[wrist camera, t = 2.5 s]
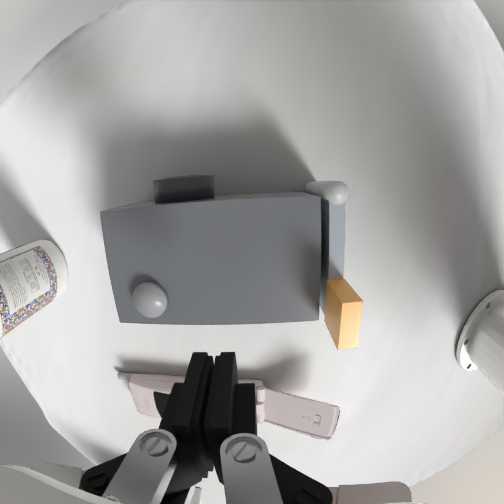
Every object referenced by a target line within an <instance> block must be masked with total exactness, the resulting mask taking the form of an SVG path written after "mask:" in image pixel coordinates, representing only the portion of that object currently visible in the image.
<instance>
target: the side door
mask: <svg viewBox="0 0 504 504" xmlns="http://www.w3.org/2000/svg"><path fill="white" fill-rule="evenodd" d="M305 193H308V194H312V195H316V196H321V278H320V306H321V309H322V311H323V313H324V315H325V320H324V321H325V323H326V325H327V327H328V330H329V332H330V334H331V336H332V339H333V341H334V343H335V345H336V348H337V350H345V349H353V348H357V346H358V339H359V332H360V325H361V317H362V309H363V300H362V299H361V298H360V297H359V296H358V294H357V293H356V292H355V291H354V290H353V288H352V287H351V286H350V285H349V284H348V282H347V281H346V280H345V279H344V278H343V271H344V245H345V202H346V201H347V200H348V198H349V189H348V187H347V185H346V184H344V183H343V182H340V181H310V182H308V183H307V184H306V185H305Z"/></svg>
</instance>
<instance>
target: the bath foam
mask: <svg viewBox="0 0 504 504" xmlns="http://www.w3.org/2000/svg"><path fill="white" fill-rule="evenodd" d="M67 283H68V269H67V264H66V261H65V259H64V256H63V254H62V253H61V251H60V250H59V248H58V247H57V246H56V245H55V244H53V243H52V242H50V241H48V240H38V241H35V242H32V243H29V244H25V245H23V246H20V247H17V248H15V249H12V250H9V251H7V252H4V253H2V254H0V338H2V337H3V336H4V335H6V334H7V333H8V332H10V331H11V330H12V329H14V328H15V327H16V326H18V325H19V324H20V323H22V322H23V321H25V320H26V319H27V318H29V317H30V316H31V315H33V314H34V313H36V312H37V311H39V310H40V309H41V308H43V307H44V306H46V305H47V304H49V303H50V302H51V301H53V300H54V299H56V298H57V297H58V296H60V295H61V294H62V293H63V292H64V291H65V289H66V287H67Z"/></svg>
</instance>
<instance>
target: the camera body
mask: <svg viewBox="0 0 504 504" xmlns="http://www.w3.org/2000/svg"><path fill="white" fill-rule="evenodd" d="M153 182H154V196H155V201H147V202H141V203H136V204H132V205H127V206H123V207H118V208H114V209H110V210H106V211H101V212H100V214H101V223H102V231H103V238H104V245H105V252H106V258H107V264H108V269H109V275H110V280H111V285H112V290H113V294H114V299H115V303H116V308H117V312H118V316H119V320H120V322H122V323H142V324H175V325H230V324H263V323H284V322H300V321H314V320H319V304H320V278H321V196H316V195H312V194H308V193H304V192H272V193H249V194H230V195H215V196H214V181H213V176H202V175H193V176H180V177H171V178H165V179H163V180H157V181H153Z"/></svg>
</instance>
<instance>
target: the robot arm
mask: <svg viewBox="0 0 504 504" xmlns="http://www.w3.org/2000/svg"><path fill="white" fill-rule="evenodd" d="M456 357H457V361H458V363H459V365H460V366H461V367H462V368H463V369H464V370H466V371H475V370H478V369H479V370H480V371H481V372H482V373H483V374H484V375H485V376H486V377H487V378H488V380H489V381H490V382H491V383H492V384H493V385H494V386H495V387H496V388H497V389H498V390H499V391H500V393H501V394H502V395H503V396H504V290H502V289H500V290H496V291H494V292H492V293H490V294H489V295H488V296H486V297H485V298H484V299H483V300H482V301H481V302H480V303H479V304H478V306H477V307H476V308H475V309H474V311H473V312H472V314H471V315H470V317H469V318H468V320H467V322H466V324H465V325H464V328H463V330H462V332H461V335H460V338H459V341H458V345H457V352H456ZM214 466H215V470H216V473H217V476H218V479H219V482H221V483H222V484H223V485H224V489H225V497H226V504H425V503H415V502H412V500H411V492H410V489H409V487H408V486H407V485H406V484H404V483H401V482H393V481H392V482H384V483H373V484H357V485H339V487H326V486H325V485H323V484H321V483H319V482H318V481H316V480H314V479H312V478H310V477H308V476H306V475H304V474H303V473H301V472H299V471H297V470H296V469H294V468H292V467H290V466H289V465H287V464H285V463H284V462H282V461H280V460H279V459H277V458H276V457H274V456H272V455H271V454H269V452H268V448H267V445H266V443H265V441H264V440H262V439H261V438H260V437H258V436H257V412H256V392H255V383H238V375H237V365H236V356H235V352H221V355H220V356H216V358H215V363H214V362H213V357H212V356H208V354H207V352H193V354H192V357H191V360H190V364H189V367H188V370H187V373H186V377H185V380H184V383H179V382H175V383H174V385H173V387H172V390H171V393H170V396H169V399H168V402H167V405H166V408H165V411H164V414H163V417H162V420H161V423H160V426H159V429H150V430H147V431H144V432H143V433H141V434H140V435H139V436H138V437H137V438H136V440H135V442H134V443H133V445H132V447H131V448H130V450H129V452H128V453H126V454H124V455H121V456H119V457H117V458H114V459H112V460H110V461H107V462H105V463H102V464H100V465H97V466H95V467H92V468H90V469H88V470H87V471H86V470H84V469H83V468H78V467H71V466H65V465H59V464H54V463H48V462H38V463H35V464H34V465H33V466H32V468H31V469H29V468H26V467H22V466H18V465H13V464H0V504H190V502H191V499H192V497H193V494H194V491H195V486H196V485H195V484H197V483H198V482H200V481H202V478H207V477H208V471H213V468H214Z"/></svg>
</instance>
